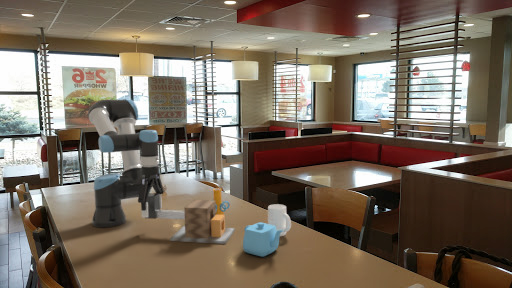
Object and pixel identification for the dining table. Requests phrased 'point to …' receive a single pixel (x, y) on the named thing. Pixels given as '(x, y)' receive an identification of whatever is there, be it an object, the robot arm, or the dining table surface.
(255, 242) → the teapot
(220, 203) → the cylinder
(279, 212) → the mug
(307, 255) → the dining table surface
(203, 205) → the block
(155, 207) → the grey mallet
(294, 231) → the dining table surface
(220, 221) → the block
